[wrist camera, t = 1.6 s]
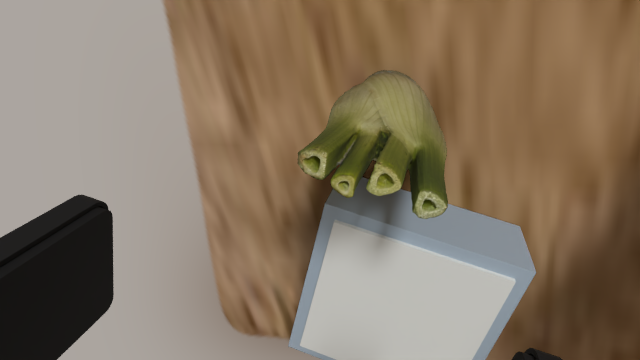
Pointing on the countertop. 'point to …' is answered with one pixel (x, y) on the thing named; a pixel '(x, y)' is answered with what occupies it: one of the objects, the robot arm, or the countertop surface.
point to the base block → (408, 281)
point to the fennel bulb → (383, 143)
